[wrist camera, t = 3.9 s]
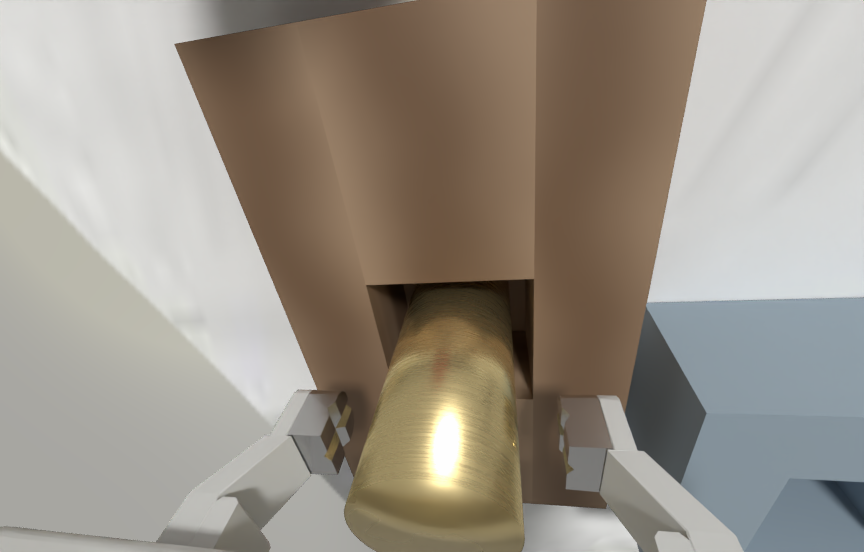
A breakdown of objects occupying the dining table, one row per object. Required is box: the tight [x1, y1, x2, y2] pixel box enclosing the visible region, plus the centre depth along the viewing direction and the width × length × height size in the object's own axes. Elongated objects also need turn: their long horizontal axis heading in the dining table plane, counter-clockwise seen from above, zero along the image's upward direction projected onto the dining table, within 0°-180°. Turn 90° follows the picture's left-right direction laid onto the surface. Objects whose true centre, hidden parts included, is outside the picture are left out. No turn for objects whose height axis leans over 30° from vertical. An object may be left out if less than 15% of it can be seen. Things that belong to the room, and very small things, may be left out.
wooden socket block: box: [175, 0, 707, 509], centre depth 15 cm, size 12×20×5 cm, turn 8°
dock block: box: [625, 298, 864, 552], centre depth 17 cm, size 12×12×6 cm
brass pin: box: [344, 280, 525, 552], centre depth 13 cm, size 4×4×10 cm
